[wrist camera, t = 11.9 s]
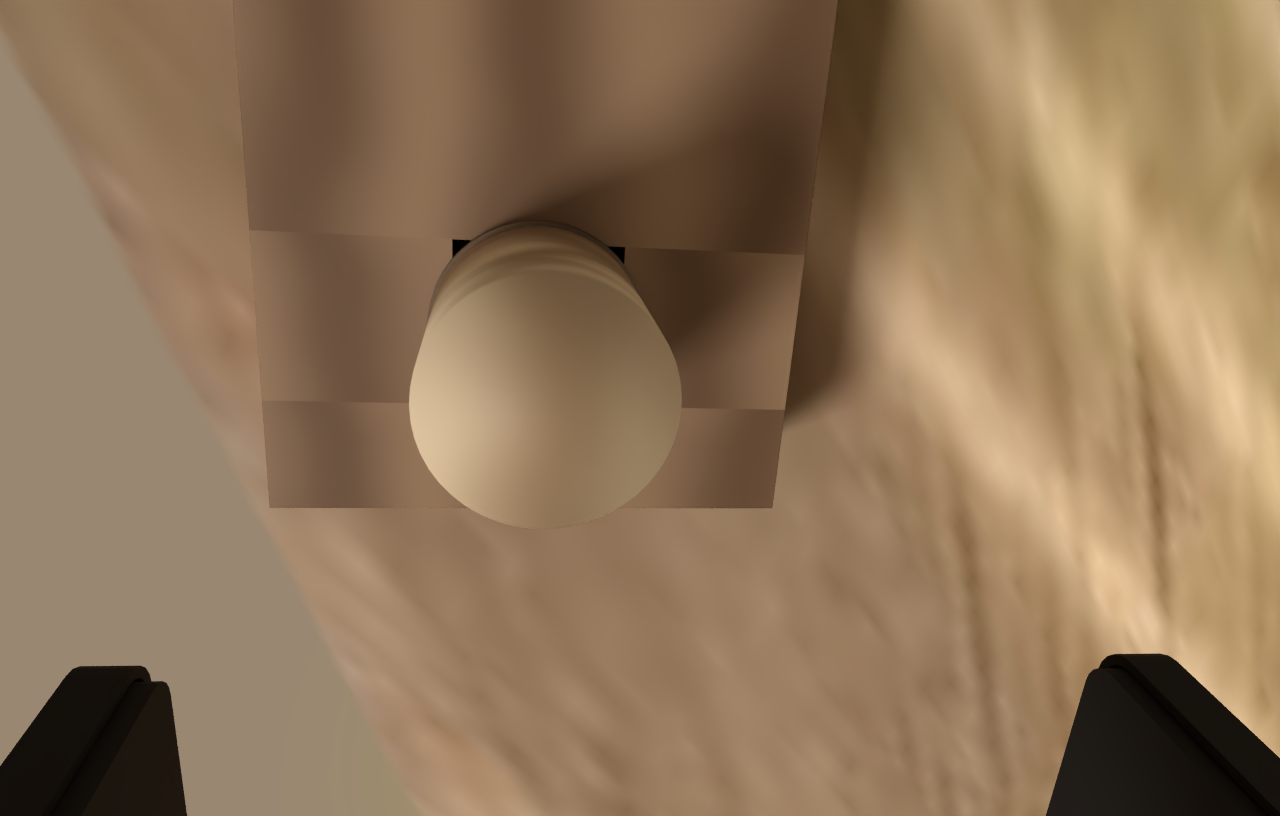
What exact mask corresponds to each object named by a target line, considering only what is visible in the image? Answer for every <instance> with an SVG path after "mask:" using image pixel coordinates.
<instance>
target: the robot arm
mask: <svg viewBox="0 0 1280 816" xmlns="http://www.w3.org/2000/svg"><path fill="white" fill-rule="evenodd" d="M0 816H187V813H186V805H185V798H184V790H183V783H182V776H181V768H180V760H179V753H178V746H177V738H176V731H175V724H174V716H173V708H172V701H171V694H170V690H169V687H168V685H167V683H165V682H163V681H159V682H158V681H157V682H151V678H150V674H149V673H148V671H147V669H146V668H145V667H142V666H80V667H77V668H74V669H72V670H71V672H69V674H68V675H67V676H66V677H65V678H64V679H63V681H62V682H61V684H60V685H59V686H58V688H57V689H56V690H55V692H54V693H53V695H52V696H51V697H50V699H49V700H48V701H47V703H46V705H45V706H44V707H43V708H42V710H41V711H40V712H39V714H38V715H37V717H36V718H35V719H34V721H33V722H32V723H31V725H30V726H29V728H28V729H27V730H26V732H25V733H24V734H23V736H22V737H21V738H20V740H19V741H18V743H17V744H16V745H15V747H14V748H13V750H12V751H11V752H10V754H9V755H8V756H7V758H6V759H5V760H4V762H3V763H2V765H1V766H0ZM1046 816H1280V758H1279V757H1278V756H1277V755H1276V754H1275V753H1274V752H1273V751H1272V750H1270V749H1269V748H1268V747H1267V746H1266V745H1265V744H1264V743H1263V742H1262V741H1261V740H1260V739H1259V738H1258V737H1257V736H1256V735H1255V734H1253V733H1252V732H1251V731H1250V730H1249V729H1248V728H1247V727H1246V726H1245V725H1244V724H1243V723H1242V722H1241V721H1240V720H1239V719H1238V718H1236V717H1235V716H1234V715H1233V714H1232V713H1231V712H1230V711H1229V710H1228V709H1227V708H1226V707H1225V706H1224V705H1223V704H1222V703H1221V702H1219V701H1218V700H1217V699H1216V698H1215V697H1214V696H1213V695H1212V694H1211V693H1210V692H1209V691H1208V690H1207V689H1206V688H1205V687H1204V686H1203V685H1201V684H1200V683H1199V682H1198V681H1197V680H1196V679H1195V678H1194V677H1193V676H1192V675H1191V674H1190V673H1189V672H1188V671H1187V670H1186V669H1184V668H1183V667H1182V666H1181V665H1180V664H1179V663H1178V662H1177V661H1176V660H1174V659H1173V658H1171V657H1170V656H1168V655H1163V654H1114V655H1110V656H1107V657H1106V658H1105V659H1104V660H1103V661H1102V662H1101V664H1100V666H1099V668H1098V669H1094V670H1093V671H1092V672H1090V673H1089V675H1088V677H1087V679H1086V682H1085V686H1084V689H1083V692H1082V696H1081V699H1080V702H1079V706H1078V709H1077V713H1076V716H1075V719H1074V723H1073V726H1072V729H1071V733H1070V736H1069V740H1068V743H1067V746H1066V750H1065V753H1064V756H1063V760H1062V763H1061V767H1060V770H1059V773H1058V777H1057V780H1056V783H1055V787H1054V790H1053V794H1052V797H1051V800H1050V804H1049V807H1048V810H1047V814H1046Z"/></svg>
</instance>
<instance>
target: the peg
mask: <svg viewBox="0 0 1280 816" xmlns="http://www.w3.org/2000/svg"><path fill="white" fill-rule="evenodd" d="M681 404H682V391H681V383H680V376H679V372H678V368H677V364H676V361H675V358H674V356H673V353H672V351H671V349H670V346H669V344H668V343H667V341H666V339H665V338H664V336H663V334H662V332H661V331H660V329H659V327H658V326H657V324H656V322H655V321H654V319H653V318H652V316H651V314H650V313H649V311H648V309H647V308H646V306H645V304H644V303H643V301H642V299H641V296H640V293H639V291H638V288H637V286H636V284H635V282H634V280H633V278H632V276H631V275H630V273H629V271H628V270H627V268H626V266H625V265H624V264H623V263H622V261H621V260H620V259H619V258H618V256H617V255H616V254H615V253H614V252H613V251H612V250H611V249H610V248H609V247H608V246H606V245H605V244H604V243H602V242H601V241H600V240H598V239H597V238H596V237H594V236H592V235H590V234H589V233H587V232H585V231H583V230H581V229H578V228H576V227H573V226H571V225H567V224H563V223H559V222H555V221H546V220H524V221H517V222H511V223H508V224H504V225H501V226H498V227H495V228H493V229H491V230H488V231H486V232H484V233H482V234H481V235H479V236H477V237H476V238H474V239H473V240H471V241H470V242H469V243H467V244H466V245H465V246H464V247H463V248H461V249H460V250H459V251H458V252H457V254H456V255H455V256H454V257H453V258H452V259H451V260H450V262H449V263H448V264H447V266H446V267H445V269H444V270H443V272H442V274H441V275H440V277H439V279H438V281H437V283H436V286H435V289H434V292H433V294H432V297H431V301H430V305H429V310H428V316H427V327H426V330H425V333H424V337H423V340H422V343H421V347H420V350H419V353H418V357H417V360H416V364H415V367H414V370H413V375H412V380H411V385H410V395H409V411H410V422H411V427H412V431H413V435H414V439H415V442H416V444H417V447H418V449H419V452H420V454H421V456H422V458H423V460H424V462H425V463H426V465H427V467H428V469H429V470H430V472H431V473H432V474H433V476H434V477H435V478H436V480H437V481H438V482H439V483H440V484H441V485H442V486H443V487H444V488H445V489H446V490H447V491H448V492H449V493H450V494H451V495H452V496H453V497H454V498H456V499H457V500H458V501H460V502H461V503H462V504H463V505H465V506H467V507H468V508H470V509H472V510H473V511H475V512H477V513H478V514H481V515H483V516H485V517H487V518H490V519H492V520H494V521H498V522H501V523H504V524H508V525H512V526H518V527H523V528H534V529H553V528H564V527H569V526H575V525H579V524H582V523H586V522H589V521H592V520H595V519H597V518H600V517H602V516H604V515H606V514H609V513H610V512H612V511H614V510H616V509H617V508H619V507H621V506H622V505H624V504H625V503H627V502H628V501H629V500H631V499H632V498H633V497H635V496H636V495H637V494H638V493H639V492H640V491H641V490H642V489H643V488H644V487H645V486H646V485H647V484H648V483H649V482H650V481H651V480H652V478H653V477H654V476H655V475H656V473H657V472H658V471H659V470H660V468H661V466H662V465H663V463H664V461H665V460H666V458H667V456H668V454H669V452H670V450H671V448H672V445H673V443H674V440H675V437H676V434H677V430H678V427H679V422H680V415H681Z"/></svg>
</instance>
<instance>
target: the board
mask: <svg viewBox="0 0 1280 816" xmlns="http://www.w3.org/2000/svg"><path fill="white" fill-rule="evenodd" d="M837 5H838V0H233V11H234V24H235V38H236V52H237V65H238V79H239V93H240V107H241V120H242V134H243V148H244V161H245V175H246V189H247V202H248V216H249V230H250V244H251V257H252V271H253V285H254V298H255V312H256V326H257V339H258V353H259V367H260V381H261V394H262V408H263V422H264V435H265V449H266V463H267V477H268V490H269V504H270V508H468V507H467V506H465V505H463V504H462V503H461V502H460V501H458V500H457V499H456V498H454V497H453V496H452V495H451V494H450V493H449V492H448V491H447V490H446V489H445V488H444V487H443V486H442V485H441V484H440V483H439V482H438V481H437V480H436V478H435V477H434V476H433V474H432V473H431V472H430V470H429V469H428V467H427V465H426V463H425V462H424V460H423V458H422V456H421V454H420V452H419V449H418V447H417V444H416V442H415V439H414V435H413V431H412V427H411V422H410V411H409V395H410V385H411V380H412V375H413V370H414V367H415V364H416V360H417V357H418V353H419V350H420V347H421V343H422V340H423V337H424V333H425V330H426V327H427V316H428V310H429V305H430V301H431V297H432V294H433V292H434V289H435V286H436V283H437V281H438V279H439V277H440V275H441V274H442V272H443V270H444V269H445V267H446V266H447V264H448V263H449V262H450V260H451V259H452V258H453V257H454V256H455V255H456V254H457V252H458V251H459V250H460V240H473V239H474V238H476V237H477V236H479V235H481V234H482V233H484V232H486V231H488V230H491V229H493V228H495V227H498V226H501V225H504V224H508V223H511V222H517V221H524V220H546V221H555V222H559V223H563V224H567V225H571V226H573V227H576V228H578V229H581V230H583V231H585V232H587V233H589V234H590V235H592V236H594V237H596V238H597V239H598V240H600V241H601V242H602V243H604V244H605V245H606V246H608V247H609V248H610V249H611V250H612V251H613V252H614V253H615V254H616V255H617V256H618V258H619V259H620V260H621V261H622V263H623V264H624V265H625V266H626V268H627V270H628V271H629V273H630V275H631V276H632V278H633V280H634V282H635V284H636V286H637V288H638V291H639V293H640V296H641V299H642V301H643V303H644V304H645V306H646V308H647V309H648V311H649V313H650V314H651V316H652V318H653V319H654V321H655V322H656V324H657V326H658V327H659V329H660V331H661V332H662V334H663V336H664V338H665V339H666V341H667V343H668V344H669V346H670V349H671V351H672V353H673V356H674V358H675V361H676V364H677V368H678V372H679V376H680V383H681V391H682V404H681V415H680V422H679V427H678V430H677V434H676V437H675V440H674V443H673V445H672V448H671V450H670V452H669V454H668V456H667V458H666V460H665V461H664V463H663V465H662V466H661V468H660V470H659V471H658V472H657V473H656V475H655V476H654V477H653V478H652V480H651V481H650V482H649V483H648V484H647V485H646V486H645V487H644V488H643V489H642V490H641V491H640V492H639V493H638V494H637V495H636V496H635V497H633V498H632V499H631V500H629V501H628V502H627V503H625V504H624V505H622V506H621V507H619V508H772V506H773V499H774V491H775V483H776V475H777V468H778V460H779V452H780V445H781V437H782V429H783V421H784V414H785V406H786V398H787V391H788V383H789V375H790V367H791V360H792V352H793V344H794V337H795V329H796V321H797V313H798V306H799V298H800V290H801V282H802V275H803V267H804V259H805V252H806V244H807V236H808V228H809V221H810V213H811V205H812V198H813V190H814V182H815V174H816V167H817V159H818V151H819V144H820V136H821V128H822V120H823V113H824V105H825V97H826V90H827V82H828V74H829V66H830V59H831V51H832V43H833V36H834V28H835V20H836V12H837Z"/></svg>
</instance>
